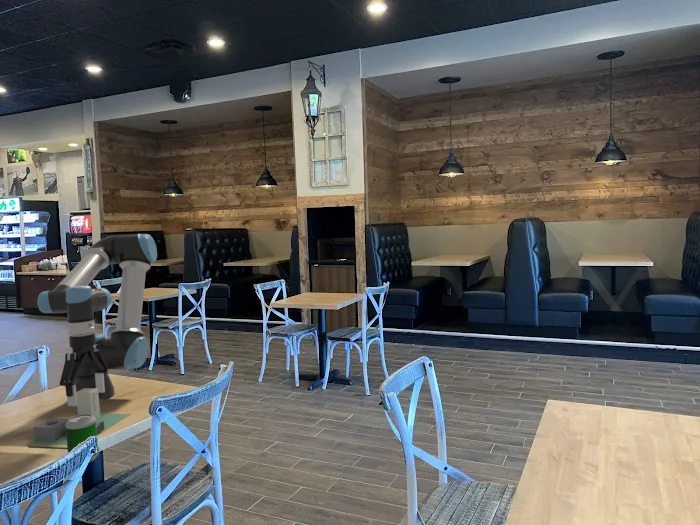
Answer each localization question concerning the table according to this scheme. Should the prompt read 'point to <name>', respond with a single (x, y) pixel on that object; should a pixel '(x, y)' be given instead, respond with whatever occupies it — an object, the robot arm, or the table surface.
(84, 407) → the plug
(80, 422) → the soda can
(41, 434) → the board
